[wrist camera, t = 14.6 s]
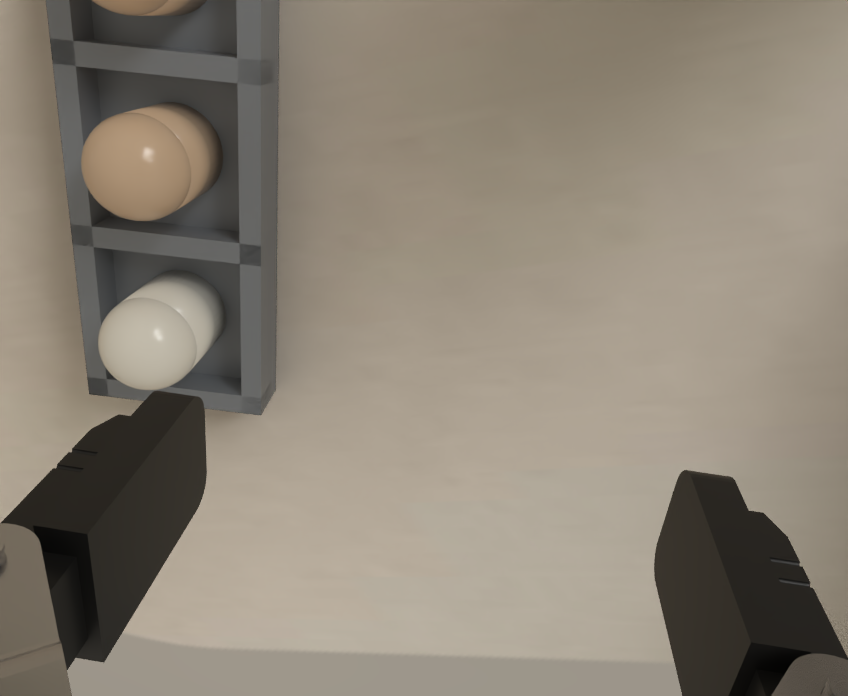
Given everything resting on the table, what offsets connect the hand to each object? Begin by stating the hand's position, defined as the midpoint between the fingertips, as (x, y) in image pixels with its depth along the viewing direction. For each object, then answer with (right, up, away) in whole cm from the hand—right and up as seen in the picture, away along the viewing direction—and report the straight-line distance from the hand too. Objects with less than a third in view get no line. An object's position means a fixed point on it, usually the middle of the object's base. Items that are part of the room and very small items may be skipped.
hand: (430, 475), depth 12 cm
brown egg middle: (-12, +11, +22) cm, 27 cm away
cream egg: (-12, +4, +25) cm, 28 cm away
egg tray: (-12, +12, +23) cm, 28 cm away
